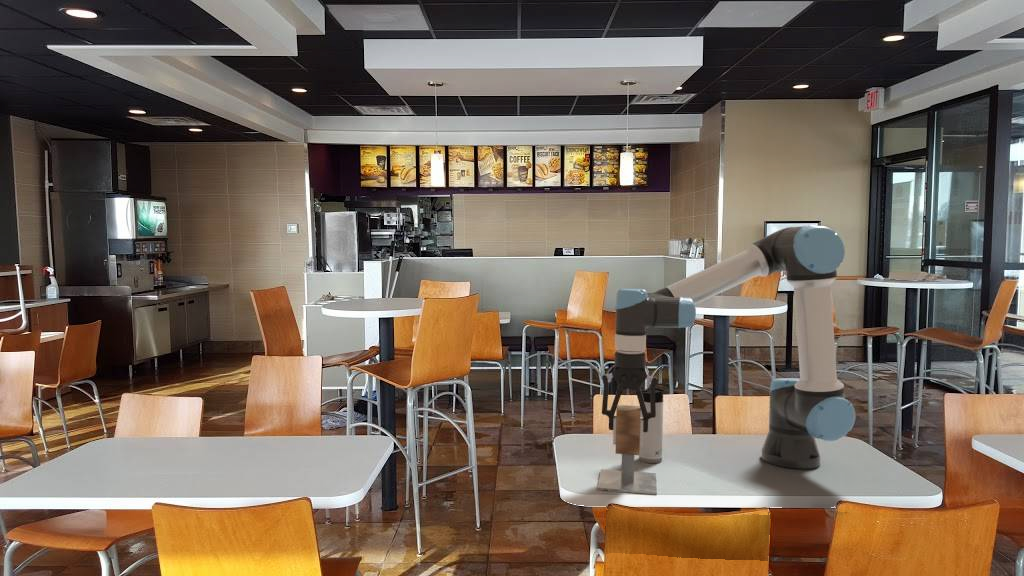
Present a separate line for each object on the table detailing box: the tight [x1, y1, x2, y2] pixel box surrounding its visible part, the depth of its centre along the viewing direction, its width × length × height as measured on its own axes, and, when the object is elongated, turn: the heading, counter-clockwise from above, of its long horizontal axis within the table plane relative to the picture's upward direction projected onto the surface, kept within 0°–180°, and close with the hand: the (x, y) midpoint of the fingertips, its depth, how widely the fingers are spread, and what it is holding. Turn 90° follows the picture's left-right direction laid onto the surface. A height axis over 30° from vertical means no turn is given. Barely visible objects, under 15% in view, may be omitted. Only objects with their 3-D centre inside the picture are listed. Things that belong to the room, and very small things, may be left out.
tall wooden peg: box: [614, 404, 641, 456], centre depth 166 cm, size 6×6×11 cm
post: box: [596, 454, 658, 495], centre depth 167 cm, size 14×14×8 cm
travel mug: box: [638, 387, 666, 464], centre depth 185 cm, size 6×7×20 cm
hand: (627, 443), depth 167 cm, fingers closed on tall wooden peg, 6 cm apart
